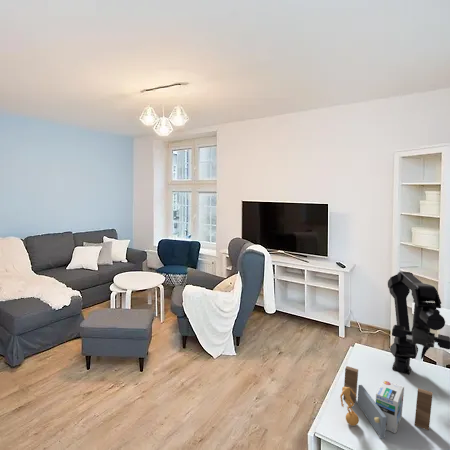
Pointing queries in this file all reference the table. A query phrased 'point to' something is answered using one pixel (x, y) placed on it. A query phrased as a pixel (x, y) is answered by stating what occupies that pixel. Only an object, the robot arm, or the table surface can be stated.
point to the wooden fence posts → (421, 407)
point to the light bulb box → (390, 403)
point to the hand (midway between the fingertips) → (418, 357)
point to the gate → (372, 411)
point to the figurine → (349, 406)
